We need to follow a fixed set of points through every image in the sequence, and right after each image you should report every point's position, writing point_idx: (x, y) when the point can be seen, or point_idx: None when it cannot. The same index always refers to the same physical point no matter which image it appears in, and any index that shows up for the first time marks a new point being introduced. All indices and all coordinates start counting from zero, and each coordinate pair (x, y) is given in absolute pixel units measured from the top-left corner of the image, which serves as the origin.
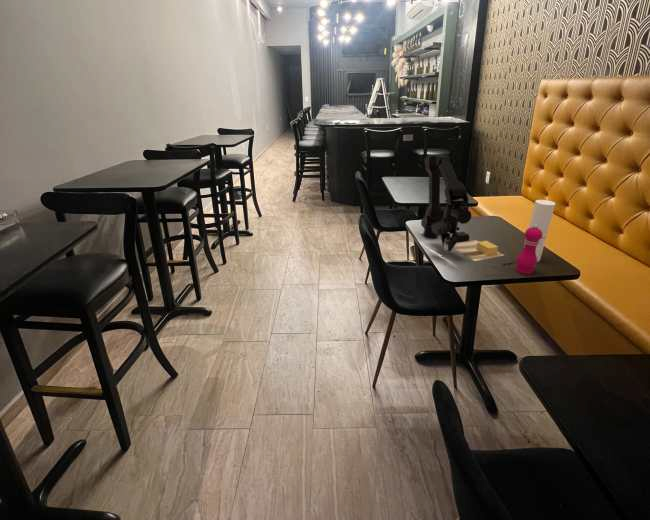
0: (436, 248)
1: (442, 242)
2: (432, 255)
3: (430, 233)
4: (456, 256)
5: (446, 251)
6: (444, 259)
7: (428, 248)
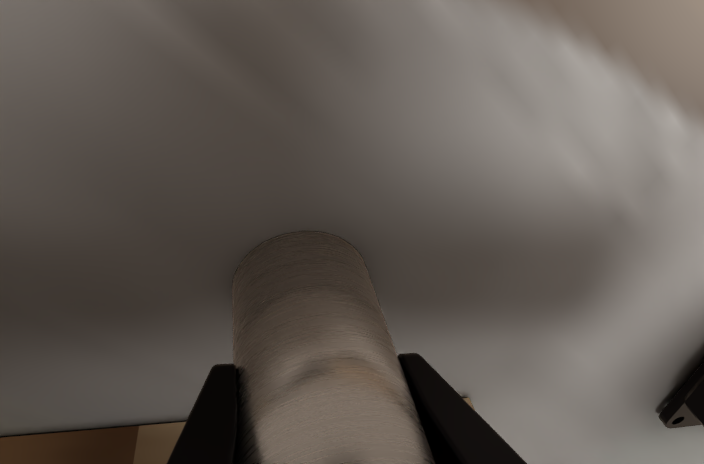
0: (557, 283)
1: (495, 450)
2: (420, 26)
3: None
4: (171, 378)
5: (256, 324)
6: (113, 134)
7: (657, 177)
